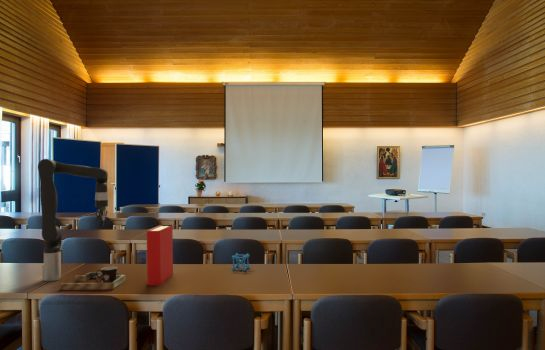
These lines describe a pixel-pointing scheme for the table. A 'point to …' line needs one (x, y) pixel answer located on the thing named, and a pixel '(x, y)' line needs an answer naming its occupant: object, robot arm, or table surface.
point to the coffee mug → (108, 274)
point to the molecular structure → (240, 262)
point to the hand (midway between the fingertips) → (101, 226)
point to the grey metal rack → (92, 286)
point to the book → (159, 254)
